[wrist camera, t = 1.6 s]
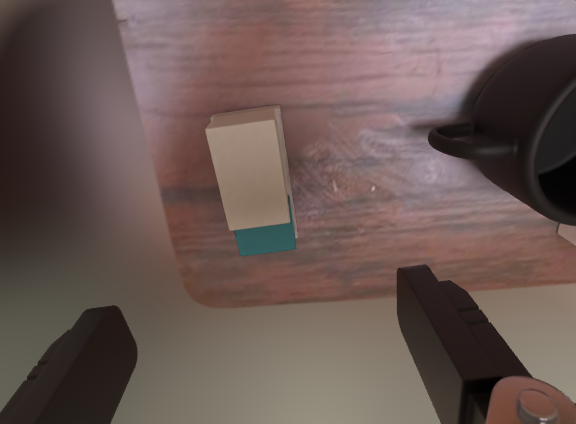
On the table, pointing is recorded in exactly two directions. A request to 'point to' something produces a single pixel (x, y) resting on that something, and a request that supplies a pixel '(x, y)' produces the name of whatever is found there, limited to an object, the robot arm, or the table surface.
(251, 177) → the teal-ended white block
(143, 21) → the table surface
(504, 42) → the table surface
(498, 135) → the mug
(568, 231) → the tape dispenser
